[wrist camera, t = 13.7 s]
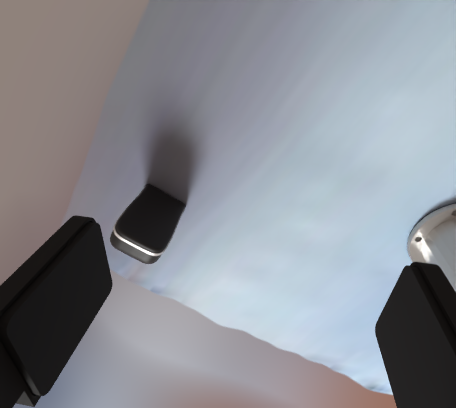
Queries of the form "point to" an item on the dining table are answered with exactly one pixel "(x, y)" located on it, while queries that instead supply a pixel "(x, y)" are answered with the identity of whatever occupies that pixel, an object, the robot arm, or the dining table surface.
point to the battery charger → (147, 225)
